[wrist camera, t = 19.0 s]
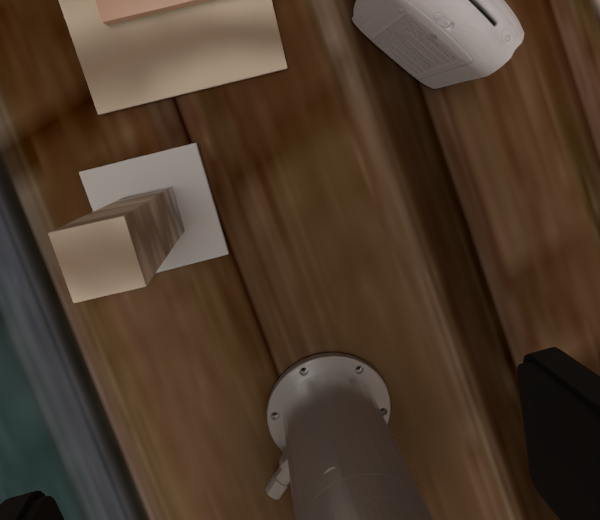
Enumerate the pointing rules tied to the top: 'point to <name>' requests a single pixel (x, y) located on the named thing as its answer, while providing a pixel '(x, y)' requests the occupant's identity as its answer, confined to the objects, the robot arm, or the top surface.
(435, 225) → the top surface
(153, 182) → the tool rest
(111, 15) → the tile
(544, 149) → the top surface
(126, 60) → the oak board
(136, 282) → the wooden block
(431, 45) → the photo printer
